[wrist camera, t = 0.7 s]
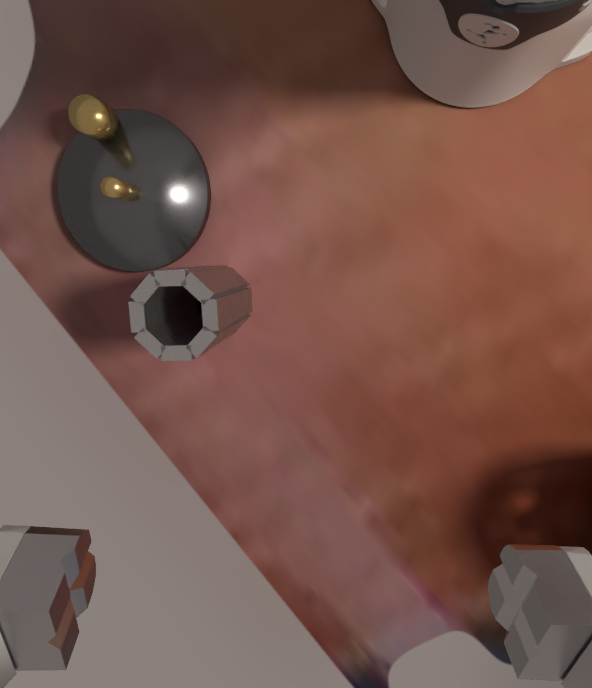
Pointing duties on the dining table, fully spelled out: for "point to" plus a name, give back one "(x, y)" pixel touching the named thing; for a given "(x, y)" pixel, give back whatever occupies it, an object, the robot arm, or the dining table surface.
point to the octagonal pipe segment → (188, 310)
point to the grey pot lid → (131, 187)
